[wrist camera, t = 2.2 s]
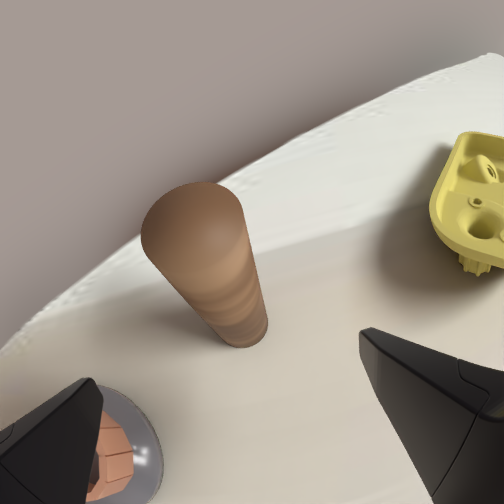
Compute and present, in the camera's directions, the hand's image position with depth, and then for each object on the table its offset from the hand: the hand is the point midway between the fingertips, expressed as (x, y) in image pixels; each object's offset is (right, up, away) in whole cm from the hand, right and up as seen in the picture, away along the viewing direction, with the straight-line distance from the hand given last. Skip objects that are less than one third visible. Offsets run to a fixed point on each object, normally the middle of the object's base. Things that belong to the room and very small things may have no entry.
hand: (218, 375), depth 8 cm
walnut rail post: (0, -1, +12) cm, 12 cm away
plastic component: (+23, +7, +14) cm, 28 cm away
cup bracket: (-11, -11, +8) cm, 18 cm away
